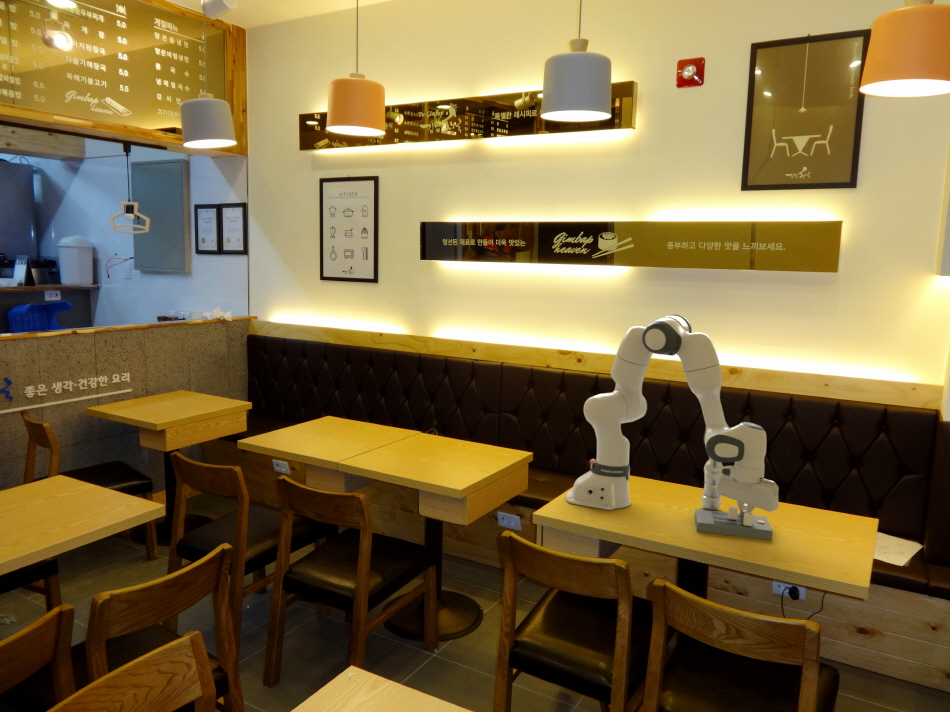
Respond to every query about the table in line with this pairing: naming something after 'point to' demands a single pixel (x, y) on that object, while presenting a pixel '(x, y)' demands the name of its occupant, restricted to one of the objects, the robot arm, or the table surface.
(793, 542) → the table surface
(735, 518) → the block
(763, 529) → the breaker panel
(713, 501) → the plastic bottle
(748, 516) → the block
